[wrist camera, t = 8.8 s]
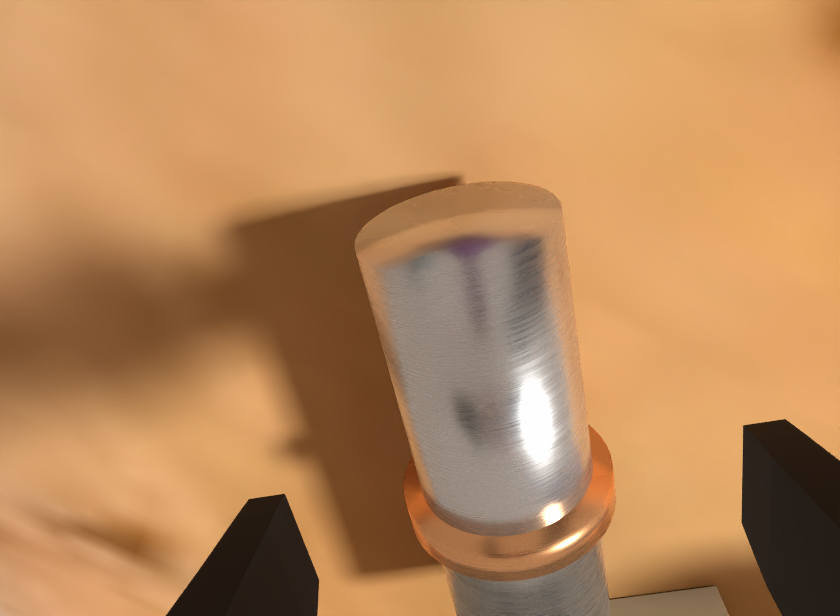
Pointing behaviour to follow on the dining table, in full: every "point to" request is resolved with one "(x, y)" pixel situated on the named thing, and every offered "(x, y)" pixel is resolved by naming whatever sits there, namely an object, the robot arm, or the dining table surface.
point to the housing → (672, 604)
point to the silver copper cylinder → (492, 397)
